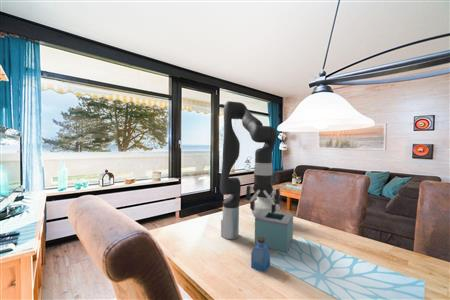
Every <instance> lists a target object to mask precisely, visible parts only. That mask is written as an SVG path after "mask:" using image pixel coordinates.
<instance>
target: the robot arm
mask: <svg viewBox="0 0 450 300" xmlns="http://www.w3.org/2000/svg"><path fill="white" fill-rule="evenodd" d="M233 120H241V124H242V127H243V128H244V129H245V130H246V131H247V132H248V133H249V135H250V138H251V140H252V141H253V142H255V143H261V144H262V143H263V147H261V148H256V149H255V151H254V153H255V154H254V168H253V169H254V170H253V174H254V175H253V176H254V177H253V181H254V182H253V186H252V185H247V186H246V193H245V194H246V195H245V200H247V201H249V202H250V203H249V206H250V207H249V209H250V210H251V209H252V211H254V209H255V201H256V200H255V199H257V198H256V197H257V196H258V197H260V198H261V197H263V198H268V199H269V200H270V202H271V203H272V210H271V213H272V214H273V213H274V212H275V211H276V204H280V203H281V202H282V201H281V188H280V187H278V188H274V187H273V152H274V148H275V144H276V141H277V137H278V136H277V135H278V133H277V130H276V128H275V127H274V126H271V125H263V123H262V121H261V120H259V119H258V118H257V117H256V116H254V115H253V114H252V113H251V111H250V110H249V108H247V106H246V105H245V104H244V103H243V102H239V101H229V100H228V101H226V102H225V104H224V107H223V143H222V161H221V162H222V166H221V173H220V182H219V189H220V193H221V194H222V195H224V196H226V195H227V196H228V197H227V198H225V199H224V200H222V218H221V219H220V220H221V221H220V236H221V237H223V239H226V240H235V239H236V240H237V239H238V238H239V234H240V233H239V232H240V231H239V228H240V227H239V226H240V202H241V190H242V188H241V181H240V179H239V178H238V177H230V174H231V171H232V168H234V167H233V166H234V165H235V163H236V162H237V161H238V159H239V157H240V150H241V149H240V148H241V144H240V141H239V138H238V137H237V135H236V133H235V131H234V127H233ZM252 191H253V192H254V194H253V195H252V196H251V194H252V193H251V192H252ZM273 191H274V193H275V197H274V198H273V196H272V194H271V193H272V192H273ZM229 195H230V196H229ZM252 211H251V212H252Z"/></svg>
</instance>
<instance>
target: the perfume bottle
mask: <svg viewBox="0 0 450 300" xmlns="http://www.w3.org/2000/svg"><path fill="white" fill-rule="evenodd" d="M257 239H258V240H257V245H254V248H253V250H251V254H250V255H251V256H250V257H251V258H250V260H251V261H250V268H251V269H255V270H258V271H261V272H263V273H266V271H267V270H268V269H269V267H270V265H271V250H270V248H268V246H267V245H265V241H264V240H265V238H263V237H258V238H257Z"/></svg>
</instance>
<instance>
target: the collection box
mask: <svg viewBox="0 0 450 300" xmlns="http://www.w3.org/2000/svg"><path fill="white" fill-rule="evenodd" d="M293 232H294V213H290V212H289V213H288V212H283V211H280V212H277V211H275V212H274V213H273V214H272V213H271V210H265V209H264V210H263V211H262V212H261V213H260V214H259V215H258V216H257V217H256V218H255V217H254V246H256V245H257V240H258V239H257V238H258V237H263V238H265V240H264V241H265V245H267V246H268V248H269V250H270V249H271V250H275V251H278V252H283V253H286V254H287V253H288V252H289V249H290V246H291V243H292V241H293V240H294V236H293V235H294V233H293Z"/></svg>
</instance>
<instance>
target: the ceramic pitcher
mask: <svg viewBox="0 0 450 300" xmlns="http://www.w3.org/2000/svg"><path fill="white" fill-rule="evenodd" d="M271 194H272V196H273V198H274V199H275V197H276V194H275V193H274V191H273V192H272V193H271ZM255 199H256V200H254V201H255V209H254V211H252V209H251V208H250V210H251V213H252V216H253V217H254V219H255V218H256V217H257V216H258V215H259V214H260V213H261V212H262V211H263V210H264V209H265V210H272V203H271V202H270V200H269V199H268V198H263V197H261V198H260V197H258V196H257V197H256V198H255ZM279 204H280V203H279ZM279 204H276V211H277V212H281V207H280V205H279Z"/></svg>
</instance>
